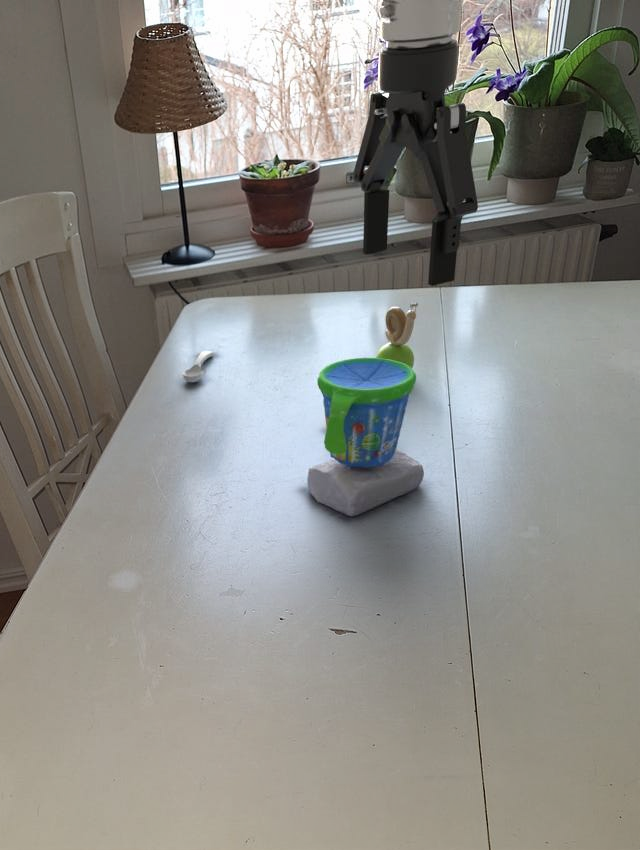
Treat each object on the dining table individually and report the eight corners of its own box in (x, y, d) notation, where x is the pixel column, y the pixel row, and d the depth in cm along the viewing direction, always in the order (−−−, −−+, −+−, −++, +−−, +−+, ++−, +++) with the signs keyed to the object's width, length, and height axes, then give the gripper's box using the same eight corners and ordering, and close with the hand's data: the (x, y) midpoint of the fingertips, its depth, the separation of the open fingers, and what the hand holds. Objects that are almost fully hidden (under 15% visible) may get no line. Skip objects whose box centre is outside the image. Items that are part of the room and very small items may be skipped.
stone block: (299, 503, 113) (353, 521, 105) (295, 466, 111) (350, 481, 103) (373, 474, 117) (430, 490, 109) (370, 438, 115) (428, 451, 107)
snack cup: (366, 492, 101) (372, 403, 95) (287, 471, 107) (287, 385, 101) (434, 443, 110) (443, 359, 104) (357, 426, 116) (362, 345, 110)
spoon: (180, 385, 139) (180, 372, 138) (199, 359, 148) (198, 347, 147) (199, 385, 138) (199, 372, 137) (217, 359, 148) (217, 347, 147)
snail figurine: (392, 392, 130) (398, 308, 123) (367, 377, 135) (370, 295, 128) (424, 382, 132) (431, 299, 124) (398, 368, 137) (403, 286, 129)
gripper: (323, 39, 97) (323, 246, 111) (460, 57, 79) (440, 305, 92) (386, 27, 99) (378, 234, 112) (535, 43, 80) (505, 289, 93)
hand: (406, 266), depth 102 cm, fingers open, 13 cm apart
